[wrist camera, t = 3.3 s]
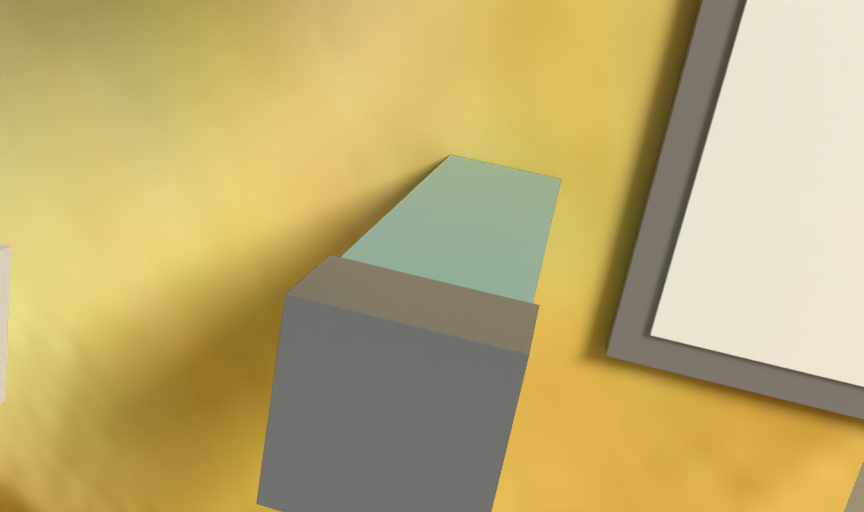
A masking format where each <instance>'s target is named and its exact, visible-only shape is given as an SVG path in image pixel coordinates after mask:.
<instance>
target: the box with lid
mask: <svg viewBox="0 0 864 512" xmlns="http://www.w3.org/2000/svg"><path fill="white" fill-rule="evenodd" d="M560 182H561V179H559V178H554V177H549V176H545V175H540V174H536V173H531V172H527V171H522V170H518V169H513V168H509V167H504V166H500V165H495V164H490V163H486V162H481V161H477V160H472V159H468V158H463V157H459V156H454V155H450V156H449V157H448V158H446V159H445V160H444V161H443V162H442V163H441V164H440V165H439V166H438V167H437V168H436V169H435V170H434V171H432V172H431V173H430V174H429V175H428V176H427V177H426V178H425V179H424V180H423V181H422V182H421V183H420V184H418V185H417V186H416V187H415V188H414V189H413V190H412V191H411V192H410V193H409V194H408V195H407V196H406V197H405V198H403V199H402V200H401V201H400V202H399V203H398V204H397V205H396V206H395V207H394V208H393V209H392V210H391V211H389V212H388V213H387V214H386V215H385V216H384V217H383V218H382V219H381V220H380V221H379V222H378V223H377V224H375V225H374V226H373V227H372V228H371V229H370V230H369V231H368V232H367V233H366V234H365V235H364V236H363V237H361V238H360V239H359V240H358V241H357V242H356V243H355V244H354V245H353V246H352V247H351V248H350V249H349V250H347V251H346V252H345V253H344V254H343V255H342V256H341V257H337V256H333V255H329V256H328V257H327V258H326V259H325V260H324V261H322V262H321V263H320V264H319V265H318V266H317V267H316V268H314V269H313V270H312V271H311V272H310V273H309V274H308V275H307V276H305V277H304V278H303V279H302V280H301V281H300V282H299V283H298V284H296V285H295V286H294V287H293V288H292V289H291V290H290V291H288V292H287V293H286V294H285V301H284V308H283V316H282V323H281V330H280V337H279V344H278V352H277V359H276V366H275V373H274V381H273V388H272V395H271V402H270V409H269V417H268V424H267V431H266V438H265V446H264V453H263V460H262V467H261V474H260V482H259V489H258V496H257V503H256V504H258V505H262V506H265V507H269V508H272V509H276V510H279V511H283V512H491V511H492V507H493V502H494V498H495V494H496V490H497V486H498V482H499V478H500V473H501V469H502V465H503V461H504V457H505V453H506V449H507V444H508V440H509V436H510V432H511V428H512V424H513V420H514V416H515V411H516V407H517V403H518V399H519V395H520V391H521V387H522V382H523V378H524V374H525V370H526V366H527V362H528V358H529V353H530V348H531V343H532V338H533V334H534V329H535V324H536V319H537V314H538V309H539V305H537V304H533V301H534V296H535V292H536V288H537V283H538V279H539V274H540V270H541V266H542V261H543V257H544V252H545V248H546V244H547V239H548V235H549V230H550V226H551V222H552V217H553V213H554V208H555V204H556V200H557V195H558V191H559V186H560Z"/></svg>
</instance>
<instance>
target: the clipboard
mask: <svg viewBox="0 0 864 512" xmlns="http://www.w3.org/2000/svg"><path fill="white" fill-rule="evenodd" d="M606 356H608V357H612V358H616V359H620V360H624V361H628V362H632V363H636V364H641V365H645V366H649V367H653V368H657V369H661V370H665V371H669V372H673V373H677V374H681V375H685V376H689V377H693V378H697V379H701V380H706V381H710V382H714V383H718V384H722V385H726V386H730V387H734V388H738V389H742V390H746V391H750V392H754V393H758V394H762V395H766V396H770V397H775V398H779V399H783V400H787V401H791V402H795V403H799V404H803V405H807V406H811V407H815V408H819V409H823V410H827V411H831V412H835V413H840V414H844V415H848V416H852V417H856V418H860V419H864V0H700V4H699V8H698V11H697V15H696V19H695V22H694V26H693V30H692V33H691V37H690V41H689V45H688V48H687V52H686V56H685V59H684V63H683V67H682V70H681V74H680V78H679V81H678V85H677V89H676V92H675V96H674V100H673V103H672V107H671V111H670V114H669V118H668V122H667V125H666V129H665V133H664V136H663V140H662V144H661V147H660V151H659V155H658V158H657V162H656V166H655V169H654V173H653V177H652V181H651V184H650V188H649V192H648V195H647V199H646V203H645V206H644V210H643V214H642V217H641V221H640V225H639V228H638V232H637V236H636V239H635V243H634V247H633V250H632V254H631V258H630V261H629V265H628V269H627V272H626V276H625V280H624V283H623V287H622V291H621V294H620V298H619V302H618V305H617V309H616V313H615V316H614V320H613V324H612V328H611V331H610V335H609V339H608V342H607V346H606Z"/></svg>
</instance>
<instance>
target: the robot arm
mask: <svg viewBox="0 0 864 512" xmlns="http://www.w3.org/2000/svg"><path fill="white" fill-rule="evenodd" d="M10 262H11V246H7V245H3V244H0V404H1V403H2V402H4V401H5V393H6V367H7V340H8V314H9V288H10ZM844 512H864V462H863V464H862V467H861V469H860V472H859V474H858V477H857V479H856V482H855V485H854V487H853V490H852V492H851V495H850V497H849V500H848V503H847V505H846V508H845V510H844Z"/></svg>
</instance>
